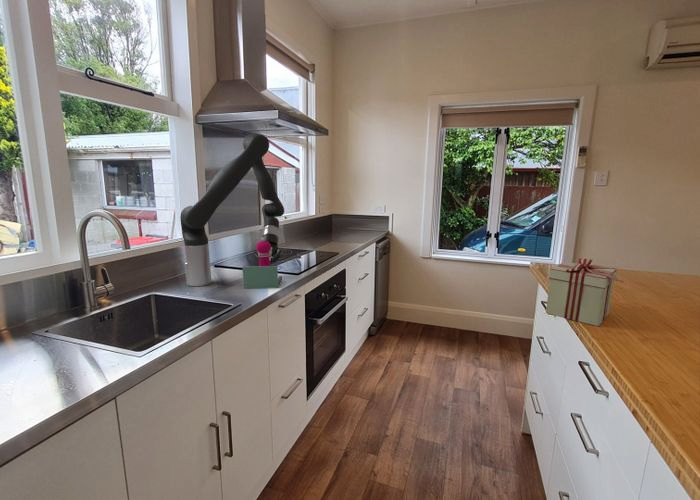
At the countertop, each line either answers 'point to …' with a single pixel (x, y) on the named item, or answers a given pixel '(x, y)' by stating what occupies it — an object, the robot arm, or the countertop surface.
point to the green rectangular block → (261, 277)
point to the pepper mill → (263, 252)
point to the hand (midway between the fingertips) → (266, 269)
